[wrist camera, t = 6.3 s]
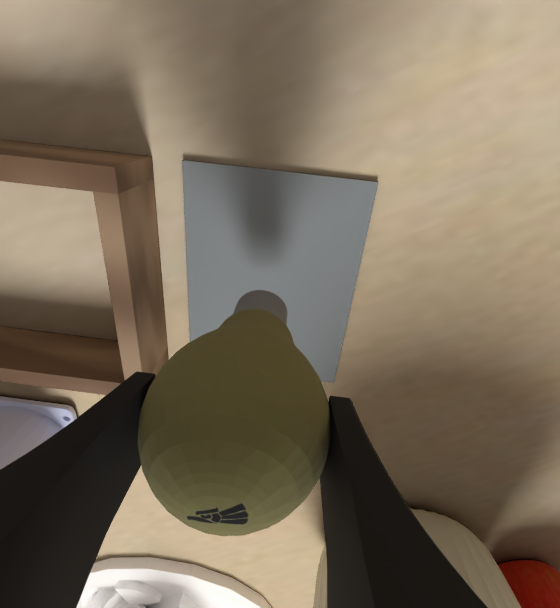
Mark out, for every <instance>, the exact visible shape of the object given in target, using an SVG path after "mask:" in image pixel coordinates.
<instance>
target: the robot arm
mask: <svg viewBox="0 0 560 608" xmlns="http://www.w3.org/2000/svg"><path fill="white" fill-rule="evenodd" d="M154 379H155V374H153V373H145V372H137V371H136V372H135V373H134V374H132V375H131V376H130V377H129V378H127V379H126V380H125V381H124V382H122V383H121V384H120V385H119V386H117V387H116V388H115V389H114V390H112V391H111V392H110V393H109V394H107V395H106V396H105V397H104V398H102V399H101V400H100V401H99V402H97V403H96V404H95V405H93V406H92V407H91V408H90V409H88V410H87V411H86V412H84V413H83V414H82V415H80V416H79V417H78V418H77V416H76V413H75V410H74V408H73V407H71V406H69V405H64V404H56V403H48V402H41V401H33V400H25V399H17V398H10V397H2V396H0V608H77V605H78V602H79V600H80V597H81V595H82V592H83V590H84V587H85V584H86V582H87V579H88V577H89V574H90V572H91V569H92V567H93V564H94V562H95V559H96V557H97V555H98V552H99V550H100V547H101V545H102V542H103V540H104V538H105V535H106V533H107V531H108V529H109V527H110V525H111V522H112V520H113V518H114V516H115V514H116V513H117V511H118V509H119V507H120V505H121V503H122V501H123V499H124V497H125V495H126V493H127V491H128V489H129V487H130V485H131V483H132V482H133V480H134V478H135V476H136V474H137V472H138V470H139V468H140V466H141V461H140V455H139V449H138V443H137V442H138V427H139V417H140V412H141V408H142V405H143V402H144V399H145V397H146V394H147V392H148V389H149V387H150V385H151V384H152V382H153V380H154ZM328 403H329V409H330V417H331V433H330V445H329V450H328V454H327V459H326V463H325V465H324V468H323V470H322V473H321V475H320V483H321V495H322V507H323V519H324V530H325V542H326V557H327V608H488V607H487V606H486V605H485V604H484V603H483V601H482V600H481V599H480V598H479V597H478V596H477V595H476V594H475V592H474V591H473V590H472V589H471V588H470V586H469V585H468V584H467V583H466V581H465V580H464V579H463V578H462V577H461V575H460V574H459V573H458V572H457V570H456V569H455V568H454V567H453V565H452V564H451V563H450V562H449V561H448V559H447V558H446V557H445V556H444V554H443V553H442V552H441V551H440V549H439V548H438V547H437V545H436V544H435V543H434V541H433V540H432V539H431V537H430V536H429V535H428V533H427V532H426V531H425V529H424V528H423V527H422V525H421V524H420V522H419V521H418V519H417V518H416V517H415V515H414V514H413V512H412V511H411V509H410V508H409V506H408V505H407V503H406V502H405V500H404V499H403V497H402V496H401V494H400V493H399V491H398V489H397V488H396V486H395V485H394V483H393V481H392V480H391V478H390V476H389V475H388V473H387V471H386V469H385V468H384V466H383V464H382V462H381V461H380V459H379V457H378V455H377V453H376V451H375V450H374V448H373V446H372V444H371V442H370V440H369V438H368V436H367V434H366V432H365V430H364V428H363V426H362V424H361V422H360V419H359V417H358V415H357V413H356V410H355V408H354V406H353V403H352V401H351V400H350V399H349V398H343V397H335V396H330V398H329V402H328Z"/></svg>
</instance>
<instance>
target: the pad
mask: <svg viewBox="0 0 560 608" xmlns="http://www.w3.org/2000/svg"><path fill="white" fill-rule="evenodd" d="M182 167H183V191H184V214H185V238H186V262H187V285H188V309H189V332H190V342H191V341H193V340H195V339H196V338H198V337H200V336H202V335H204V334H206V333H208V332H211V331H213V330H216V329H218V328H219V327H220V326H221V324H222V323H223V322H224V321H225V320H226V319H227V318H228V317H230V316H231V315H233V313H234V310H235V307H236V305H237V303H238V300H239V299H240V298H241V297H242V296H243V295H244V294H246V293H248V292H250V291H254V290H265V291H269V292H272V293H274V294H276V295H278V296H279V297H280V298H281V299H282V300H283V302H284V303H285V305H286V307H287V312H288V315H287V327H288V329H289V331H290V333H291V335H292V338H293V341H294V345H295V346H296V347H297V348H298V349H299V350H300V351H301V352H302V353H303V354H304V356H305V357H306V358H307V359H308V361H309V362H310V364H311V365H312V367H313V368H314V370H315V371H316V373H317V374H318V376H319V378H320V381H324V382H332V383H334V379H335V375H336V370H337V366H338V361H339V357H340V353H341V348H342V344H343V339H344V335H345V330H346V326H347V321H348V317H349V312H350V308H351V303H352V299H353V294H354V290H355V285H356V281H357V276H358V272H359V267H360V263H361V258H362V254H363V250H364V245H365V241H366V236H367V232H368V227H369V223H370V218H371V214H372V209H373V205H374V200H375V196H376V191H377V187H378V182H377V181H368V180H359V179H350V178H341V177H332V176H323V175H314V174H305V173H296V172H287V171H278V170H269V169H260V168H251V167H242V166H233V165H224V164H215V163H206V162H198V161H189V160H182Z"/></svg>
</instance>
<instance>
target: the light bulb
mask: <svg viewBox="0 0 560 608" xmlns="http://www.w3.org/2000/svg"><path fill="white" fill-rule="evenodd" d="M287 315H288V312H287V307H286V305H285V303H284V302H283V300H282V299H281V298H280V297H279V296H278V295H276V294H274V293H272V292H269V291H265V290H254V291H250V292H248V293H246V294H244V295H243V296H242V297H241V298H240V299H239V300H238V303H237V305H236V307H235V310H234V313H233V315H231V316H230V317H228V318H227V319H226V320H225V321H224V322H223V323H222V324H221V326H220V327H219V328H218V329H216V330H213V331H211V332H208V333H206V334H204V335H202V336H200V337H198V338H196V339H195V340H193V341H191V342H190V343H188V344H187V345H185V346H184V347H183V348H181V349H180V350H179V351H177V352H176V353H175V354H174V355H173V356H172V357H171V358H170V359H169V360H168V361H167V362H166V364H165V365H164V366H163V367H162V368H161V369H160V371H159V372H158V374H157V375H156V377H155V379H154V380H153V382H152V384H151V385H150V387H149V389H148V392H147V394H146V397H145V399H144V402H143V405H142V408H141V412H140V417H139V427H138V442H137V443H138V449H139V455H140V461H141V465H142V470H143V473H144V475H145V477H146V479H147V482H148V484H149V486H150V488H151V490H152V492H153V493H154V495H155V497H156V498H157V499H158V500H159V502H160V503H161V504H162V505H163V506H164V507H165V509H166V510H167V511H168V512H169V513H171V514H172V515H173V516H175V517H176V518H177V519H179V520H180V521H182V522H183V523H184V524H186V525H187V526H189V527H192V528H194V529H197V530H199V531H202V532H204V533H208V534H214V535H219V536H238V535H246V534H250V533H253V532H256V531H259V530H262V529H266V528H268V527H270V526H272V525H274V524H276V523H278V522H280V521H281V520H283V519H284V518H285V517H287V516H288V515H289V514H290V513H292V512H293V511H294V510H295V509H296V508H297V507H298V506H299V505H300V504H301V503H302V502H303V501H304V500H305V499H306V498H307V496H308V495H309V493H310V492H311V490H312V489H313V487H314V486H315V484H316V482H317V481H318V479H319V477H320V475H321V473H322V470H323V468H324V465H325V463H326V459H327V454H328V450H329V445H330V433H331V417H330V409H329V403H328V400H327V397H326V394H325V391H324V389H323V386H322V383H321V381H320V378H319V376H318V374H317V373H316V371H315V370H314V368H313V367H312V365H311V364H310V362H309V361H308V359H307V358H306V357H305V356H304V354H303V353H302V352H301V351H300V350H299V349H298V348H297V347H296V346H295V345H294V341H293V338H292V335H291V333H290V331H289V329H288V327H287Z"/></svg>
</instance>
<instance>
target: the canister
mask: <svg viewBox="0 0 560 608" xmlns="http://www.w3.org/2000/svg"><path fill="white" fill-rule="evenodd" d="M410 509H411V511H412V512H413V514H414V515H415V517H416V518H417V519H418V521H419V522H420V524H421V525H422V527H423V528H424V529H425V531H426V532H427V533H428V535H429V536H430V537H431V539H432V540H433V541H434V543H435V544H436V545H437V547H438V548H439V549H440V551H441V552H442V553H443V554H444V556H445V557H446V558H447V559H448V561H449V562H450V563H451V564H452V565H453V567H454V568H455V569H456V570H457V572H458V573H459V574H460V575H461V577H462V578H463V579H464V580H465V581H466V583H467V584H468V585H469V586H470V588H471V589H472V590H473V591H474V592H475V594H476V595H477V596H478V597H479V598H480V599H481V600H482V601H483V603H484V604H485V605H486V606H487V607H488V608H521V606H520V604H519V602H518V601H517V599H516V597H515V595H514V593H513V591H512V590H511V588H510V586H509V584H508V582H507V580H506V579H505V577H504V575H503V573H502V572H501V570H500V568H499V566H498V565H497V563H496V562H495V560H494V558H493V557H492V555H491V554H490V552H489V551H488V549H487V548H486V547H485V545H484V544H483V543H482V542H481V541H480V540H479V539H478V538H477V537H476V536H475V535H474V534H473V533H472V532H471V531H470V530H469V529H468V528H466V527H465V526H463V525H461V524H460V523H459V522H457V521H456V520H453V519H450V518H448V517H447V516H445V515H439V514H437V513H435V512H427V511H425V510H423V509H418V510H416V509H412V508H410ZM313 608H327V557H326V544H325V546H324V548H323V551H322V554H321V558H320V562H319V566H318V572H317V579H316V587H315V596H314V606H313Z"/></svg>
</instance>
